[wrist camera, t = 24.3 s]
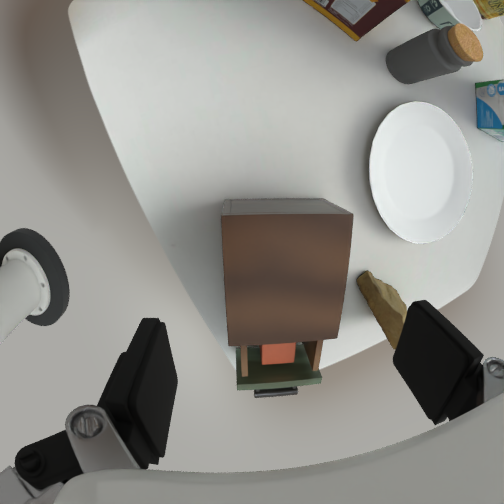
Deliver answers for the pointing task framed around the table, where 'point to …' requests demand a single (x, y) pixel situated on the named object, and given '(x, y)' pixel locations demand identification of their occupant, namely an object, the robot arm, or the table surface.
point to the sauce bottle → (490, 8)
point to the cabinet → (284, 269)
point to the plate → (420, 172)
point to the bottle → (434, 54)
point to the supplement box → (356, 13)
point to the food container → (452, 13)
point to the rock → (384, 306)
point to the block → (277, 353)
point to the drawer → (278, 371)
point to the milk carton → (491, 107)
